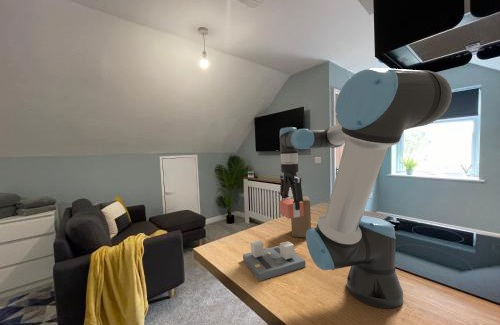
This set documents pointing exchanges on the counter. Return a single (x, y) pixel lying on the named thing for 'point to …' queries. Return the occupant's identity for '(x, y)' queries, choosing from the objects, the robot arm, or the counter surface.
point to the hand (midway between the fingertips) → (291, 214)
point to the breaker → (287, 250)
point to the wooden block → (302, 220)
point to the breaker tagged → (257, 248)
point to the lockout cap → (289, 208)
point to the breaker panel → (272, 263)
